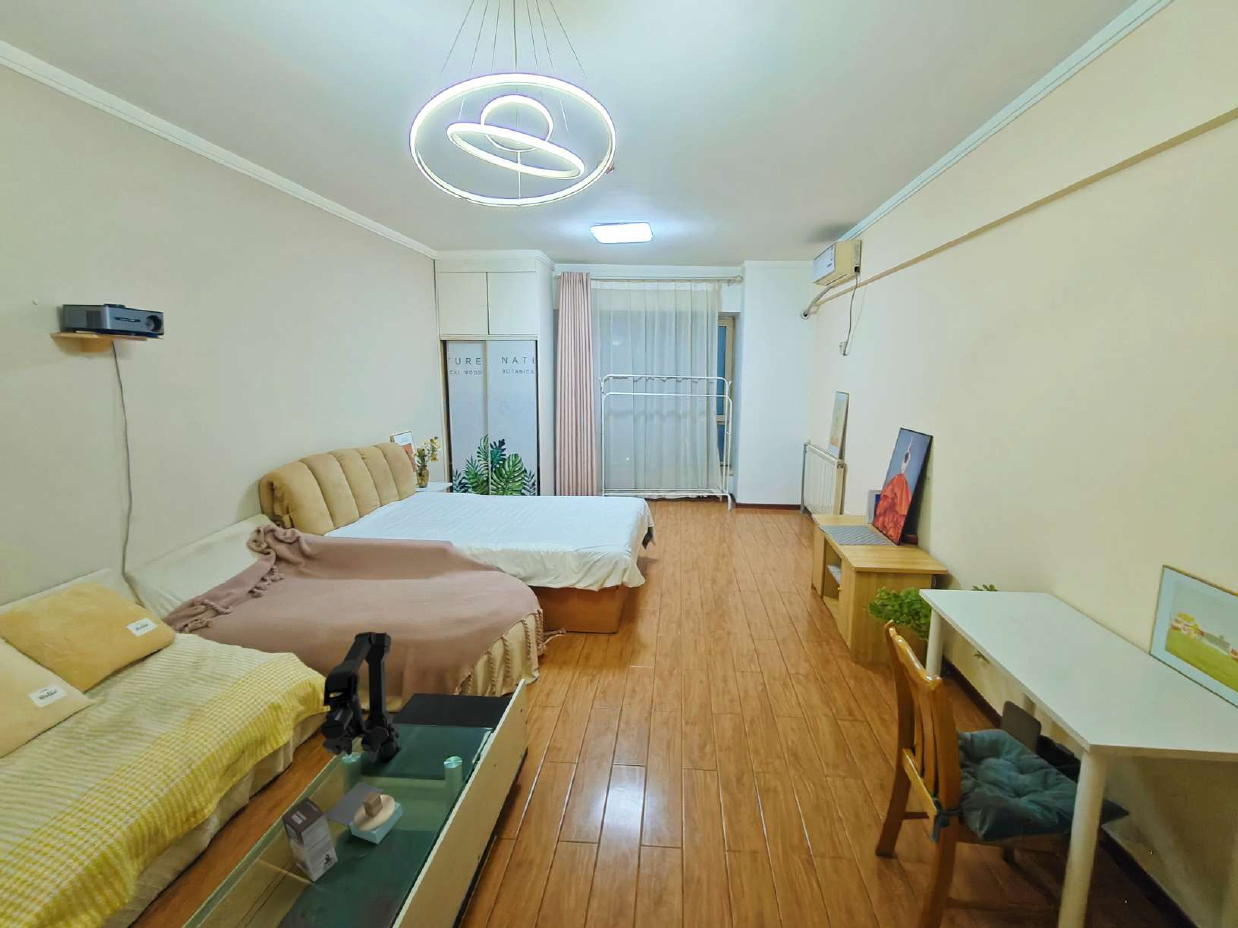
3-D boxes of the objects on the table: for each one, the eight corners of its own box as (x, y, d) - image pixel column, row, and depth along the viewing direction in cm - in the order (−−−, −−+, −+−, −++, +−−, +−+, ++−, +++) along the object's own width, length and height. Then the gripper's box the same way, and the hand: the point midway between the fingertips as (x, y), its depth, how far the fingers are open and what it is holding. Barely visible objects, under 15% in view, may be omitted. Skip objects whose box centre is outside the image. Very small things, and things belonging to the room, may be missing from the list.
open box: (378, 806, 145) (376, 795, 144) (403, 815, 142) (400, 803, 141) (352, 835, 137) (349, 824, 136) (378, 845, 134) (374, 833, 133)
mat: (359, 783, 154) (358, 781, 153) (384, 791, 150) (384, 789, 150) (324, 818, 143) (323, 816, 143) (350, 828, 139) (349, 826, 139)
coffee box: (295, 866, 130) (279, 815, 126) (320, 844, 135) (306, 795, 131) (314, 884, 125) (298, 832, 121) (339, 861, 130) (325, 810, 126)
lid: (346, 825, 136) (341, 809, 134) (375, 793, 145) (371, 778, 143) (374, 835, 132) (370, 818, 131) (403, 802, 141) (399, 786, 140)
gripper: (299, 725, 138) (313, 772, 142) (350, 739, 132) (363, 789, 135) (335, 697, 148) (347, 742, 152) (384, 709, 142) (395, 756, 145)
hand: (361, 757), depth 146 cm, fingers open, 9 cm apart
